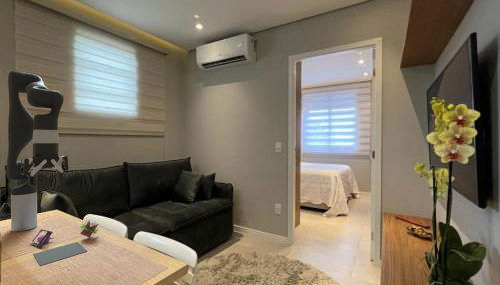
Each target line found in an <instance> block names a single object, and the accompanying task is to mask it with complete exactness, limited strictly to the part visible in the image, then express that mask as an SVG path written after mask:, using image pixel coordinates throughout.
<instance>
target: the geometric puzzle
mask: <svg viewBox="0 0 500 285" xmlns="http://www.w3.org/2000/svg"><path fill="white" fill-rule="evenodd" d="M98 227H99V223H98V222H97V221H96V220H91V219H89V220H88V221H86V222H85V223H83V224H81V226H80V233H79V234H80V235H82V236H83V237H87V238H91V237H92V236H93V234H94V235H96V234H97V232H98V231H99V229H97V228H98Z"/></svg>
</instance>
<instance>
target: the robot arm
mask: <svg viewBox="0 0 500 285" xmlns="http://www.w3.org/2000/svg"><path fill="white" fill-rule="evenodd" d="M7 78H8V79H7V86H8V103H9V104H8V105H9V106H8V107H9V108H8V122H7V137H8V138H7V139H8V141H7V142H8V149H7V159H6V168H5V169H6V171H5V172H6V175H5V176H6V178H7V180H8V181H20V180H26V181H25V182H24V183H22V184H20V185H17V186H15V187H13V188H11V189H10V216H11V217H10V230H11V232H23V231H29V230H32V229H35V228H36V227H38V172H39V171H40V170H44V169H54V170H55V171H56V173H55V174H56V175H55V177H56V178H55V180H56V183H61V182H62V181H63V179H64V178H63V177H64V174H63V173H64V172H66V171H69V160H68V159H69V158H68V156H67V155H61V156H59V152H60V151H59V148H60V147H59V141H60V137H59V131H58V130H59V127H58V125H59V124H58V123H59V117H60V113H61V109H62V107H63V104H64V100H65V98H64V95H63V94H62V92H60V91H58V90H52V89H49V88H48V87H47V86H46V85H45V83H44V81H43V79H42V77H41V76H39V74H38V75H37V74H34V73H29V72H24V71H17V70H11V71H10V72H8V76H7ZM19 93H20V94H26V100H27V103H28V105H30V106H31V107H33V108H43V109H50V110H49V112H48V113H37V114H35V115H34V116H33V115H32V114H31V113H30V112H29V110H28V109H27V108H26V106H25V105H24V104H23V102H22V101H21V98H20V94H19ZM31 141H32V157H31V158H25V157H23V158H21V160H18V159H19V155H20V154H21V152H22V151H23V150H24V149H25V148H26V146H28V144H29V143H30V142H31ZM59 161H60V163H61V165H60V164H58V162H59Z"/></svg>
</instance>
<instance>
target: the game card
mask: <svg viewBox="0 0 500 285" xmlns="http://www.w3.org/2000/svg"><path fill="white" fill-rule="evenodd" d="M42 232H45V234H43V235H40V233H42ZM53 233H54V232H53V231H51V230H46V229H40V230H39V232H38V233H37V234H36V235H35V236H34V238H33V239H32V240H31V241H29V243H28V244H29V245H30V246H32V247H34V248H38V249H42V248H43V246H44V245H45V244H46V243H49V242H50V241H51V240H53V239H55V237H51V235H53ZM36 239H37V240H36ZM35 241H36V242H35Z"/></svg>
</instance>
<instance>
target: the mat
mask: <svg viewBox="0 0 500 285" xmlns="http://www.w3.org/2000/svg"><path fill="white" fill-rule="evenodd" d="M86 252H87V253H88V250H87V249H85V248H84V246H83V245H81V244H80V243H79V242H78V241H75V242H72V243H66V244H65V245H61V246H57V247H53V248H49V249H46V250H42V251H39V252H35V253H33V256H34V258H35V259H36V261H37V263H38V265H39V267H41V266H44V265H48V264H51V263H55V262H58V261H61V260H64V259H67V258H71V257H73V256H77V255H80V254H84V253H86Z"/></svg>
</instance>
